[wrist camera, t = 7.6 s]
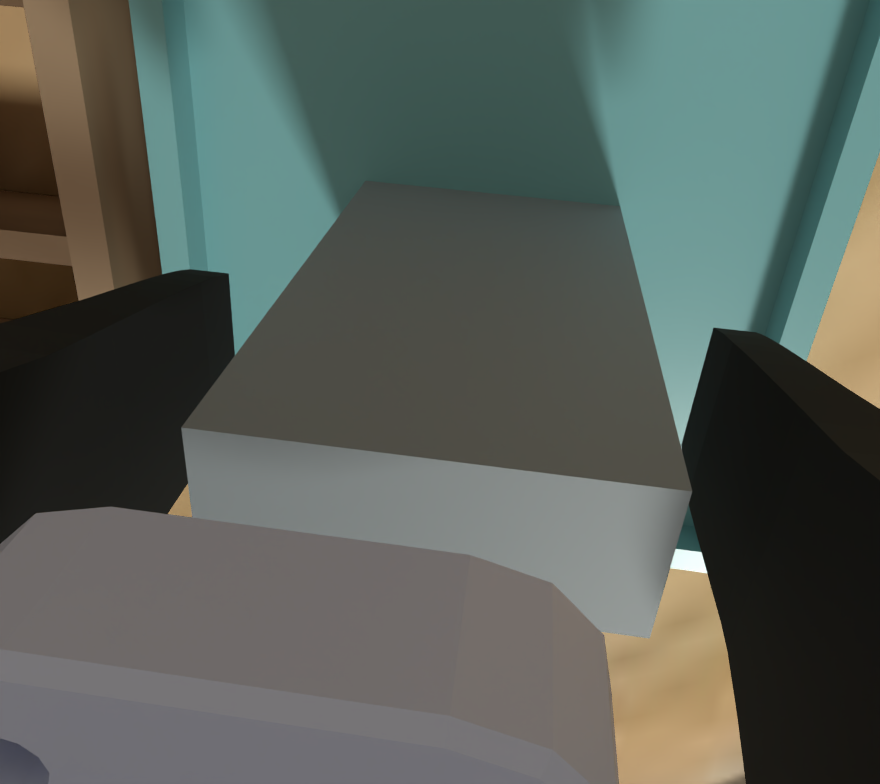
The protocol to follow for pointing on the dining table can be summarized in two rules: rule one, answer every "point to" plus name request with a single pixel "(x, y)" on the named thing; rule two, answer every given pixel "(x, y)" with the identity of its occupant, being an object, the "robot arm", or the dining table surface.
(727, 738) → the dining table surface
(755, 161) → the tray
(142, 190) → the rack
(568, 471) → the slate gray block
